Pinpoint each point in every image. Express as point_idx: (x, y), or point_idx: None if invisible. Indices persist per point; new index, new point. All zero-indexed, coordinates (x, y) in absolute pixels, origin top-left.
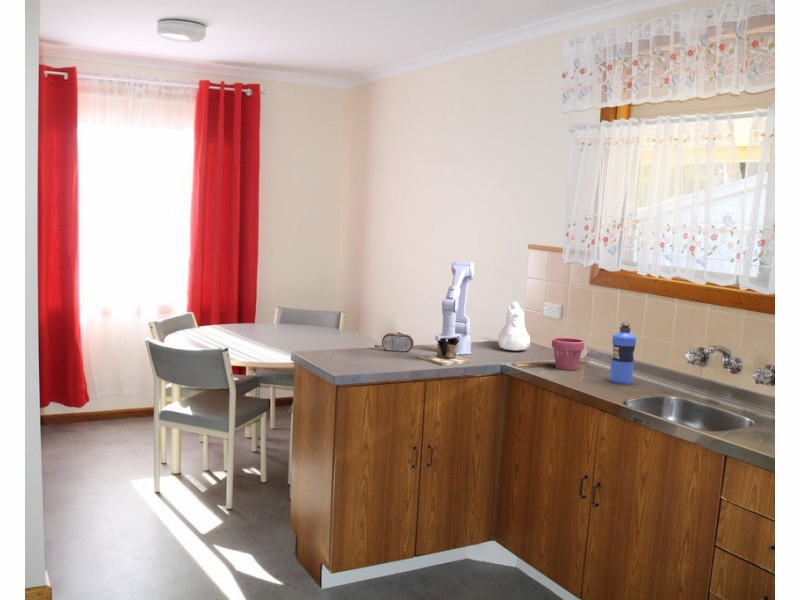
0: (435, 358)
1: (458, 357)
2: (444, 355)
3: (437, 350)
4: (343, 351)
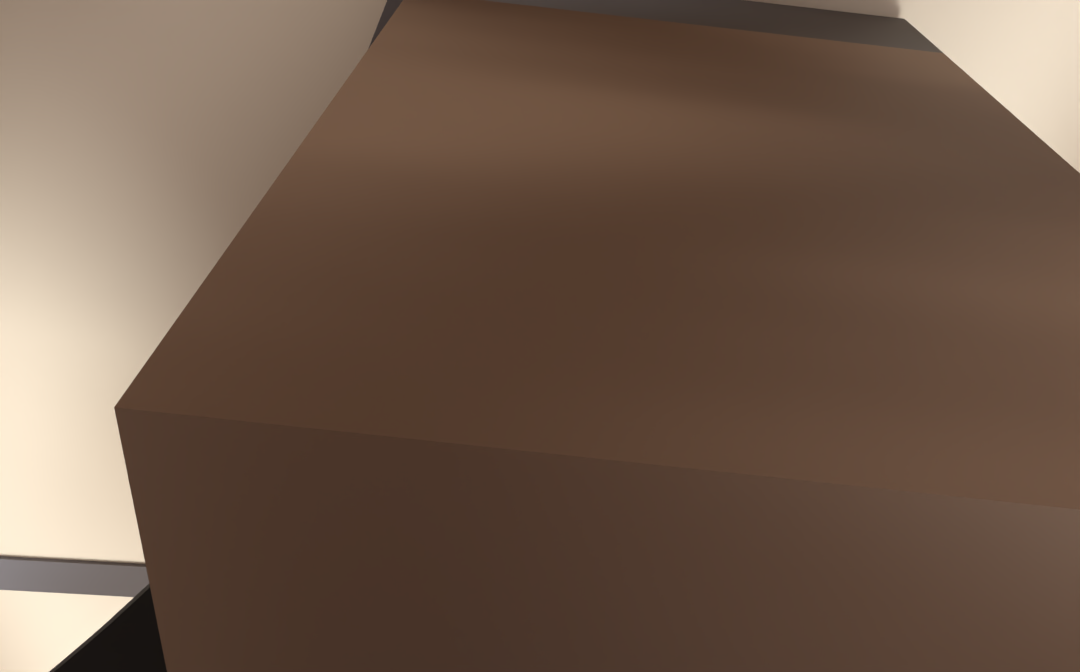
0: (23, 253)
1: None
2: None
3: (358, 76)
4: None
